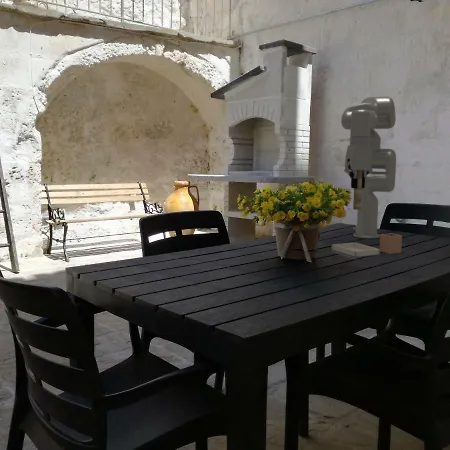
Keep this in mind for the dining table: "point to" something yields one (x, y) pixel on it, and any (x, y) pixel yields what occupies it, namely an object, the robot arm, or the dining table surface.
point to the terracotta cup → (390, 243)
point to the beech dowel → (358, 192)
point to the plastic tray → (354, 249)
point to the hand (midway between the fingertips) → (357, 187)
